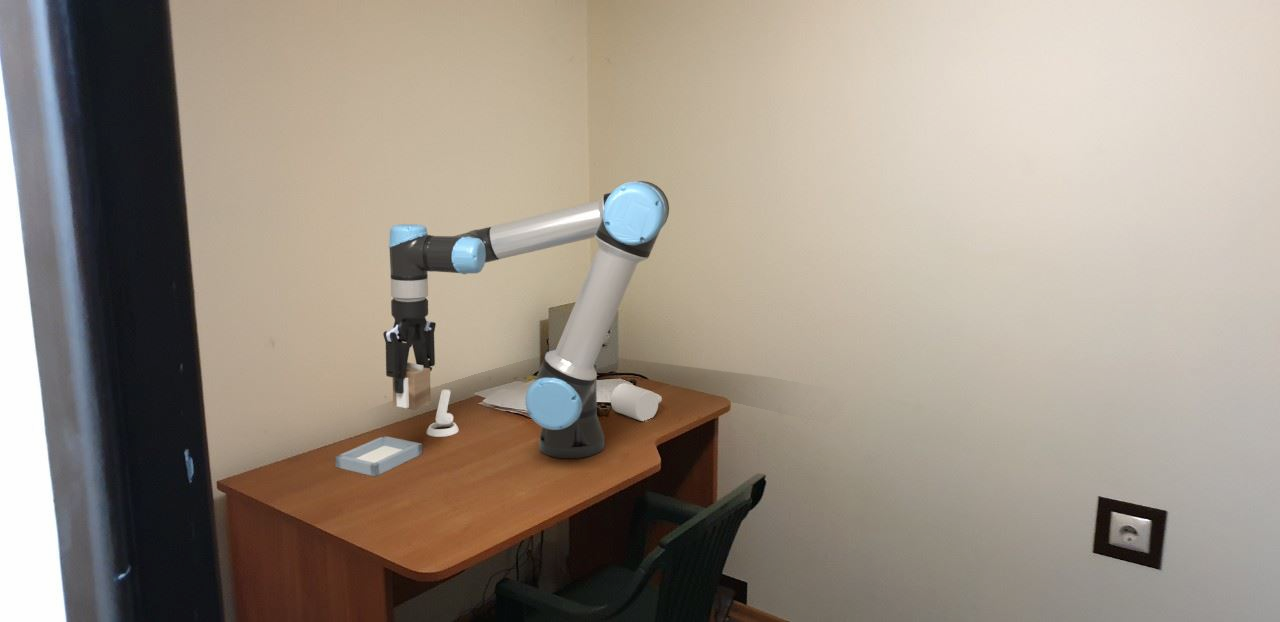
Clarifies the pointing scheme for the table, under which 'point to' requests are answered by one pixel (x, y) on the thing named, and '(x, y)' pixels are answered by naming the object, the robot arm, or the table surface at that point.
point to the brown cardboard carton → (416, 386)
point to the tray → (378, 455)
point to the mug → (635, 401)
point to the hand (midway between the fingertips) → (412, 403)
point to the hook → (443, 418)
